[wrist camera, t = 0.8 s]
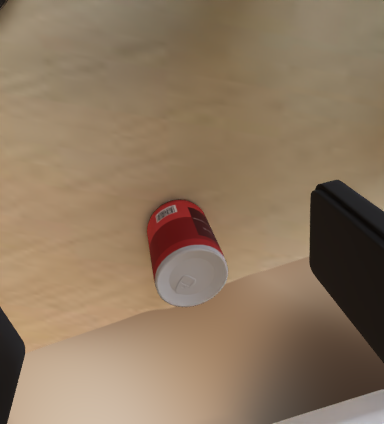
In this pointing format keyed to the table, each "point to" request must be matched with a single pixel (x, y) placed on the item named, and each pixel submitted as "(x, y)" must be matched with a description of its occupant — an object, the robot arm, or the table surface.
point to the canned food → (185, 255)
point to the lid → (2, 3)
